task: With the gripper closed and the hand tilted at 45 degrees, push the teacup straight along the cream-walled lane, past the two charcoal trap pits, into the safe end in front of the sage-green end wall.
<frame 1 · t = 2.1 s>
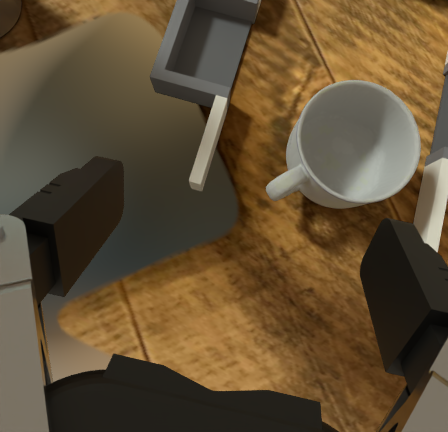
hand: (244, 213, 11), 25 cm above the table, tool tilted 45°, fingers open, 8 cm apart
teacup: (316, 172, 37), on the table
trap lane: (336, 92, 38), on the table
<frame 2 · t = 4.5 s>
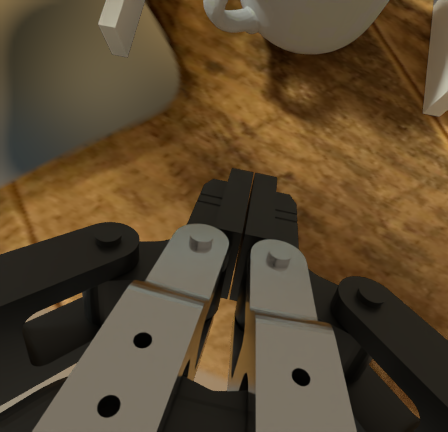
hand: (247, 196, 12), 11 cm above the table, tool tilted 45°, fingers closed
teacup: (285, 24, 27), on the table
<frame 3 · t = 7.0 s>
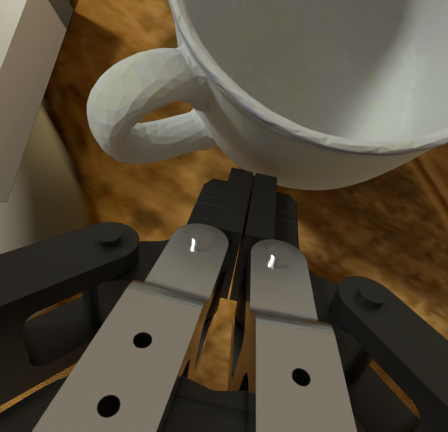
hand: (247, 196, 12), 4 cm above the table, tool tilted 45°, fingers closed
teacup: (269, 118, 17), on the table, touching gripper
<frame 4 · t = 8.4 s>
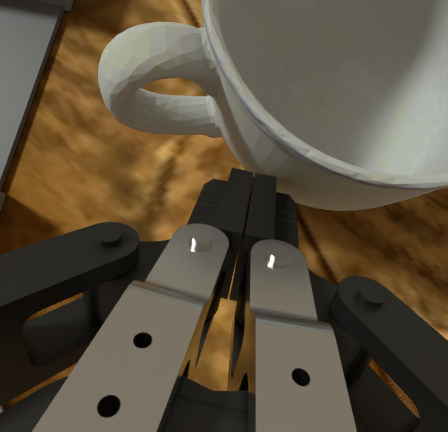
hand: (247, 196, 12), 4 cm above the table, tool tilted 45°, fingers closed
teacup: (287, 126, 17), on the table, touching gripper
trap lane: (258, 150, 16), on the table
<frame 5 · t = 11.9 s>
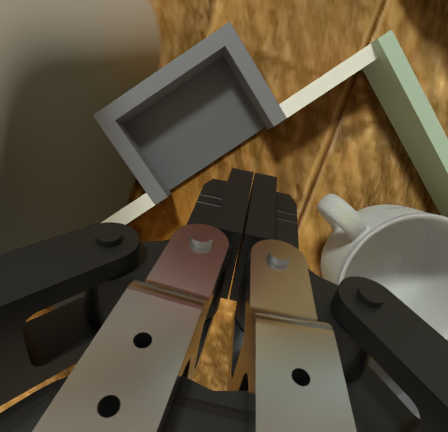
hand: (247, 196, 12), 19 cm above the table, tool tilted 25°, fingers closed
teacup: (355, 242, 32), on the table
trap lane: (279, 265, 32), on the table
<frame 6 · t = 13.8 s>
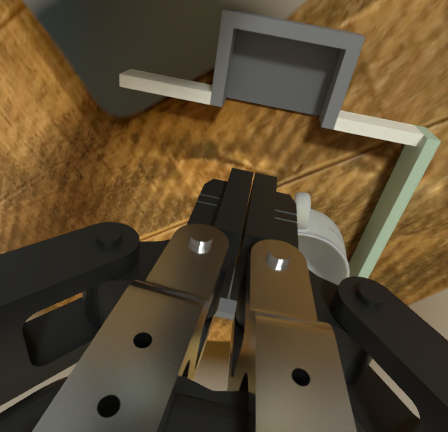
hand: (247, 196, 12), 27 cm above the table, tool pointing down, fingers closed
teacup: (299, 221, 44), on the table
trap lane: (247, 196, 42), on the table
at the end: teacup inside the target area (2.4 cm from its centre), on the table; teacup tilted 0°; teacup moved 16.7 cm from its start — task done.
